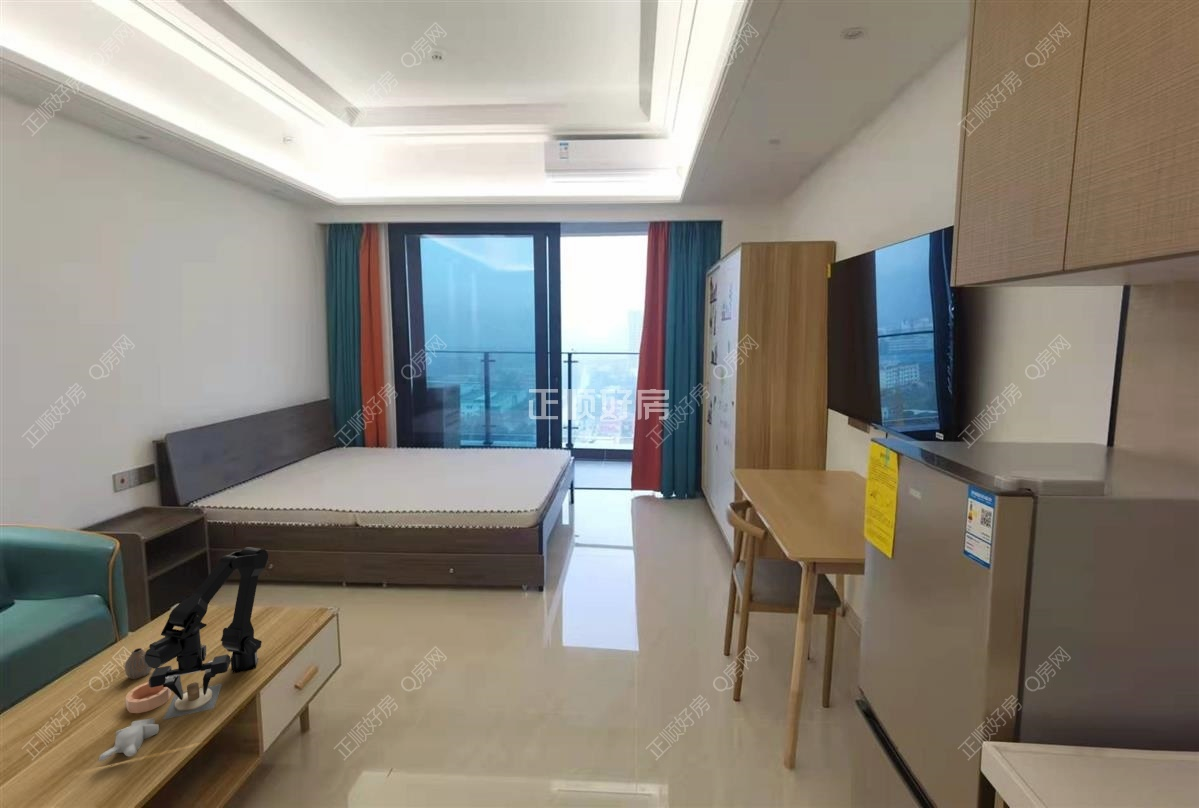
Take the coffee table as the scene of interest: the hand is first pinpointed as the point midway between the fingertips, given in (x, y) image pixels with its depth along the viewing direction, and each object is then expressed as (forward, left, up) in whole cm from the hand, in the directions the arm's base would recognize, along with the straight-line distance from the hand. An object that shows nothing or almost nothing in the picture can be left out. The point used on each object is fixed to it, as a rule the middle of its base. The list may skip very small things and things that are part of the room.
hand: (193, 696), depth 163 cm
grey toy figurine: (+11, +14, -2) cm, 18 cm away
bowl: (+12, -5, -2) cm, 13 cm away
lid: (0, 0, -1) cm, 1 cm away
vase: (+19, -22, -2) cm, 29 cm away
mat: (0, 0, -2) cm, 2 cm away
